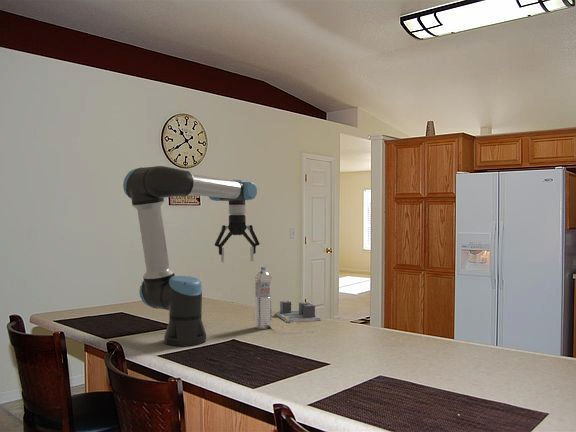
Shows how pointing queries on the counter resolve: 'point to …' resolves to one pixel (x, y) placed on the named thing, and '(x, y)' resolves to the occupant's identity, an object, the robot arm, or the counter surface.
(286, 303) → the tab far
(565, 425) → the counter surface
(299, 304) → the tab mid
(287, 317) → the switch bank
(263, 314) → the water bottle
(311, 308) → the dark grey rectangular block
